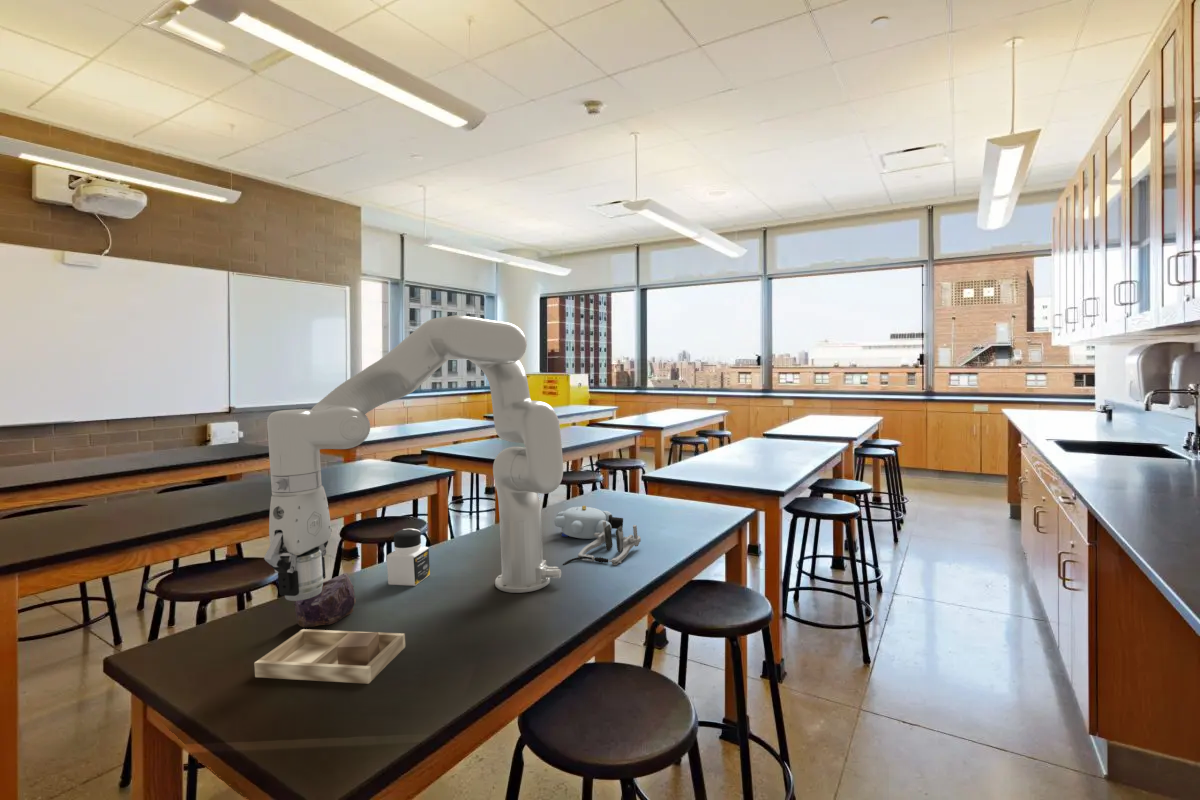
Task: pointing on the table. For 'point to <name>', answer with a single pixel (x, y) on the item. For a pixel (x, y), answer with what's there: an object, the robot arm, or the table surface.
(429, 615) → the table surface
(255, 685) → the table surface
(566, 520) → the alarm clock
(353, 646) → the walnut block
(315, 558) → the camera lens
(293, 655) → the caddy
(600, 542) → the bike brake
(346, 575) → the rock
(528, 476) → the robot arm
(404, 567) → the medicine bottle
